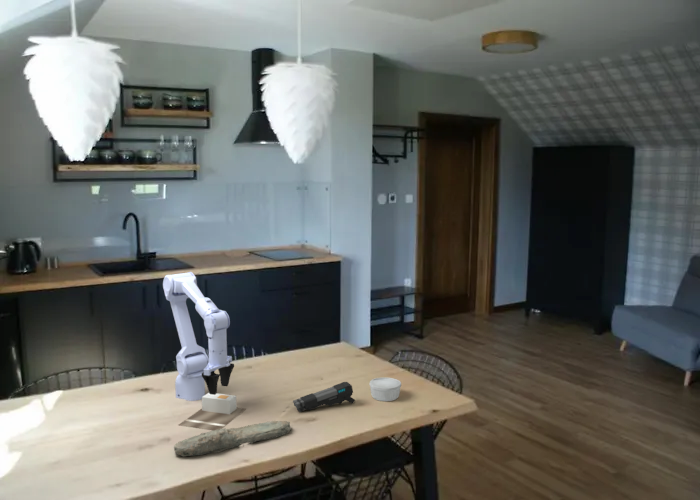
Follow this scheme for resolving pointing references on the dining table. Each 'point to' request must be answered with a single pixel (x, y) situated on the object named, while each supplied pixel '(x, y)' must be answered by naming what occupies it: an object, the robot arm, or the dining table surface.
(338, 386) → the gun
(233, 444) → the long grey stone
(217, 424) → the subfloor panel
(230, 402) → the block
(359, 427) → the dining table surface
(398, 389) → the ramekin
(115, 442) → the dining table surface
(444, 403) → the dining table surface
